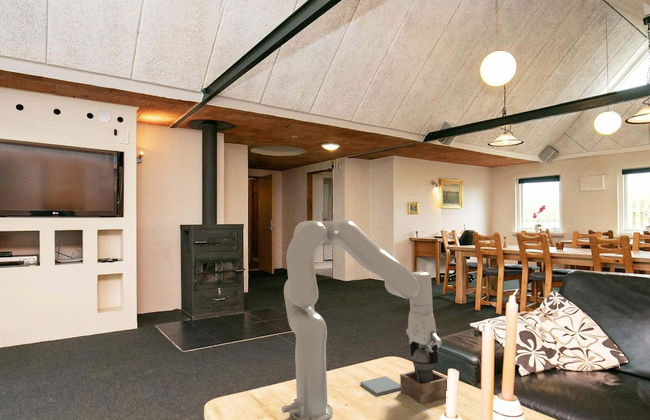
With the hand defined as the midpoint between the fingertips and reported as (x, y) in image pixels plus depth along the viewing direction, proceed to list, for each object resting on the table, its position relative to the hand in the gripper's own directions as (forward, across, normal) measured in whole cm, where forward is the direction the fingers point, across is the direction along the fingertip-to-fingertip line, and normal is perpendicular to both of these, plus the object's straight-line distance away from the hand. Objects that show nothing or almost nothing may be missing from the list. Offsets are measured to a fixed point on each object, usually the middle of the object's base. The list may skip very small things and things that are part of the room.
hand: (424, 359), depth 139 cm
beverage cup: (+12, 0, 0) cm, 12 cm away
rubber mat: (+12, -13, -10) cm, 20 cm away
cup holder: (+12, 0, 0) cm, 12 cm away
